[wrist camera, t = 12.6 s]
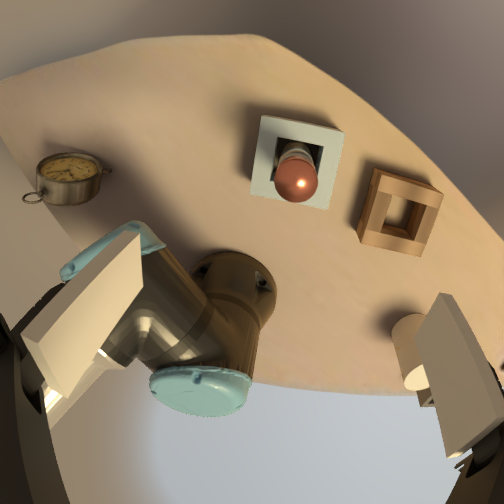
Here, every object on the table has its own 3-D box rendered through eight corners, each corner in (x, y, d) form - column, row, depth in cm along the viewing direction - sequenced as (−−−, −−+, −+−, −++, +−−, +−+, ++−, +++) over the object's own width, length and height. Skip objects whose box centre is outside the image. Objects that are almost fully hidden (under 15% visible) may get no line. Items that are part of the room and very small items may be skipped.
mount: (355, 231, 42) (360, 243, 38) (374, 167, 37) (381, 174, 33) (412, 244, 41) (420, 257, 38) (432, 186, 36) (444, 194, 33)
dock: (254, 183, 41) (249, 194, 36) (265, 114, 36) (261, 115, 31) (324, 197, 40) (327, 209, 36) (339, 129, 35) (345, 133, 31)
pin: (279, 167, 39) (270, 198, 27) (284, 139, 37) (278, 156, 25) (307, 172, 39) (313, 206, 27) (313, 145, 37) (322, 165, 25)
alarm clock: (119, 163, 42) (51, 196, 28) (113, 192, 44) (50, 234, 30) (72, 145, 41) (3, 172, 27) (68, 173, 44) (3, 207, 30)
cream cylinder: (383, 333, 51) (395, 382, 40) (414, 306, 47) (434, 354, 36) (406, 349, 52) (419, 394, 41) (435, 324, 48) (454, 369, 38)
